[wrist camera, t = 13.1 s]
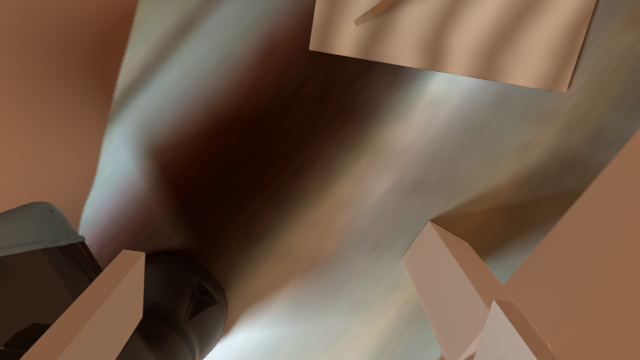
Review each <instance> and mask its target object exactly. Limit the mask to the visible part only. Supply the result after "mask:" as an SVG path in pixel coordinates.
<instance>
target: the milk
mask: <svg viewBox="0 0 640 360" xmlns="http://www.w3.org/2000/svg"><path fill="white" fill-rule="evenodd" d="M402 260H403V262H404V264H405V267H406V269H407V271H408V274H409V276H410V278H411V281H412V283H413V285H414V288H415V290H416V292H417V295H418V297H419V299H420V302H421V304H422V306H423V309H424V311H425V313H426V316H427V318H428V320H429V323H430V325H431V327H432V330H433V332H434V334H435V337H436V339H437V341H438V344H439V346H440V348H441V351H442V353H443V355H444V358H445V360H475V359H474V357H475V353H476V350H477V347H478V344H479V341H480V338H481V335H482V332H483V329H484V326H485V323H486V320H487V317H488V314H489V311H490V308H491V305H492V302H493V299H495V300H503V301H510V302H513V303H514V304H515V305H516V307H517V308H518V309H519V310H520V312H521V313H522V314H523V316H524V317H525V318H526V319H527V321H528V322H529V323H530V324H531V326H532V327H533V328H534V329H535V331H536V332H537V333H538V334H539V336H540V337H541V338H542V339H543V341H544V342H545V343H546V344H547V346H548V347H549V348H550V350H551V346H550V344H549V343H548V342H547V341H546V339H545V338H544V337H543V336H542V334H541V333H540V332H539V331H538V329H537V328H536V327H535V326H534V324H533V323H532V322H531V321H530V319H529V318H528V317H527V316H526V315H525V313H524V312H523V311H522V310H521V308H520V307H519V306H518V304H517V303H516V302H515V301H514V299H513V298H512V297H511V296H510V295H509V293H508V292H507V291H506V290H505V288H504V287H503V286H502V285H501V283H500V282H499V281H498V280H497V278H496V277H495V276H494V275H493V273H492V272H491V271H490V270H489V268H488V267H487V266H486V265H485V263H484V262H483V261H482V260H481V258H480V257H479V256H478V255H477V254H476V252H475V251H474V250H473V249H472V247H471V246H470V245H469V244H468V243H467V242H466V241H464V240H462V239H460V238H459V237H457V236H455V235H454V234H452V233H450V232H448V231H447V230H445V229H443V228H441V227H440V226H438V225H436V224H434V223H433V222H431V221H428V223H427V224H426V225H425V227H424V228H423V230H422V231H421V232H420V234H419V235H418V236H417V238H416V239H415V241H414V242H413V243H412V245H411V246H410V247H409V249H408V250H407V252H406V253H405V254H404V256H403V257H402Z"/></svg>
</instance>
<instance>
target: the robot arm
mask: <svg viewBox="0 0 640 360" xmlns="http://www.w3.org/2000/svg"><path fill="white" fill-rule="evenodd" d="M85 240H86V239H85V238H84V237H83V236H82V235H79V233H78V232H77V231H76V230H75V228H74V227H73V226H72V224H71V223H70V222H69V220H68V219H67V218H66V216H65V215H64V213H63V212H62V211H61V210H60V209H59V208H58V207H57V206H55V205H53V204H51V203H48V202H41V201H40V202H39V201H38V202H31V203H28V204H24V205H22V206H19V207H16V208H13V209H10V210H7V211H4V212H1V213H0V360H203V359H204V358H205V357H206V356H207V355H208V354H209V353H210V352H211V351H212V350H213V348H214V347H215V346H216V344H217V343H218V341H219V339H220V338H221V335H222V333H223V330H224V327H225V323H226V320H227V313H228V307H227V300H226V297H225V294H224V291H223V289H222V287H221V286H220V284H219V283H218V281H217V280H216V279H215V278H214V276H213V275H212V274H211V273H210V272H208V271H207V270H206V269H205V268H203V267H202V266H200V265H199V264H197V263H195V262H193V261H191V260H188V259H186V258H183V257H179V256H174V255H164V254H161V255H150V256H146V257H145V253H144V252H137V251H129V250H123V251H122V252H121V253H120V254H119V255H118V256H117V257H116V258H115V259H114V260H113V261H112V262H111V263H110V265H109V266H108V267H107V268H106V269H105V270H104V271H103V270H102V268H101V267H100V265H99V264H98V262H97V260H96V259H95V257H94V256H93V254H92V252H91V251H90V249H89V248H88V246H87V245H86V243H85ZM474 359H475V360H558V358H557V357H556V356H555V355H554V353H553V352H552V351H551V350H550V348H549V347H548V346H547V344H546V343H545V342H544V341H543V339H542V338H541V337H540V336H539V334H538V333H537V332H536V331H535V329H534V328H533V327H532V326H531V324H530V323H529V322H528V321H527V319H526V318H525V317H524V316H523V314H522V313H521V312H520V310H519V309H518V308H517V307H516V305H515V304H514V303H513V302H510V301H503V300H495V299H493V302H492V305H491V308H490V311H489V314H488V317H487V320H486V323H485V326H484V329H483V332H482V335H481V338H480V341H479V344H478V347H477V350H476V353H475V357H474Z"/></svg>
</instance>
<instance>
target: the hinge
mask: <svg viewBox="0 0 640 360" xmlns="http://www.w3.org/2000/svg"><path fill="white" fill-rule="evenodd" d="M395 1H396V0H381V1H379V2H378V3H377V4H375V5H374V6H373V7H371V8H370V9H369V10H367V11H366V12H365V13H363V14H362V15H361V16H360V17H358V18H357V19H356V20H354V21H353V22H354V24H355V25H356V26H358V25H360V24H362V23H364V22H366V21H368V20H370V19H372V18H373V17H375V16H377V15H378V14H379V13H380V12H382V11H383V10H384V9H386V8H387V7H388V6H390V5H391V4H392V3H394V2H395Z"/></svg>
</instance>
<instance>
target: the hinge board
mask: <svg viewBox="0 0 640 360" xmlns="http://www.w3.org/2000/svg"><path fill="white" fill-rule="evenodd" d="M379 1H381V0H316V5H315V12H314V19H313V26H312V33H311V39H310V46H309V50H314V51H319V52H325V53H331V54H337V55H343V56H349V57H355V58H361V59H367V60H372V61H378V62H384V63H390V64H396V65H402V66H408V67H414V68H420V69H426V70H431V71H437V72H443V73H449V74H455V75H461V76H467V77H473V78H479V79H484V80H490V81H496V82H502V83H508V84H514V85H520V86H526V87H532V88H538V89H543V90H549V91H555V92H561V93H566V90H567V87H568V84H569V81H570V78H571V75H572V72H573V70H574V67H575V64H576V61H577V58H578V55H579V52H580V49H581V46H582V43H583V40H584V37H585V34H586V31H587V28H588V25H589V22H590V19H591V16H592V13H593V10H594V7H595V4H596V1H597V0H396V1H395V2H394V3H392V4H391V5H390V6H388V7H387V8H386V9H384V10H383V11H382V12H380V13H379V14H378V15H377V16H375V17H373V18H372V19H370V20H368V21H366V22H364V23H362V24H360V25H358V26H356V25H355V24H354V22H353V21H354V20H356V19H357V18H358V17H360V16H361V15H362V14H363V13H365V12H366V11H367V10H369V9H370V8H371V7H373V6H374V5H375V4H377V3H378V2H379Z"/></svg>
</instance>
